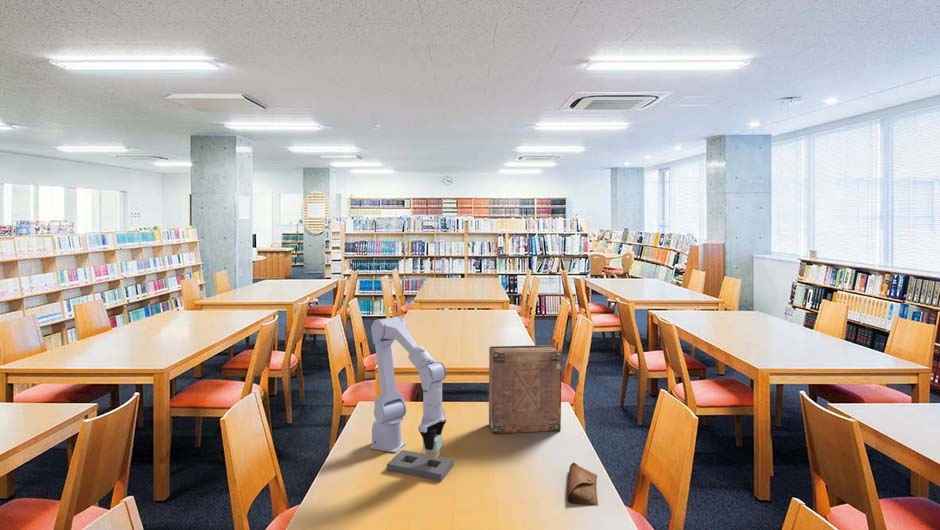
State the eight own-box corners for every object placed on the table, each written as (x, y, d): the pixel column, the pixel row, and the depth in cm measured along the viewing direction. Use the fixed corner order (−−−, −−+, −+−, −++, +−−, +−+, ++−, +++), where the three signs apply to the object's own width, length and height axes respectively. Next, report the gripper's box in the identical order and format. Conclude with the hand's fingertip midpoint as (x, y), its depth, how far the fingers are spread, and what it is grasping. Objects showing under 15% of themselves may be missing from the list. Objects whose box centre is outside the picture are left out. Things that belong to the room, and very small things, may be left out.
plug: (423, 457, 148) (423, 438, 148) (429, 451, 152) (429, 433, 152) (436, 460, 147) (436, 441, 146) (442, 453, 151) (442, 435, 151)
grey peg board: (387, 470, 150) (387, 463, 150) (402, 456, 159) (402, 449, 159) (441, 481, 144) (441, 474, 144) (453, 465, 153) (453, 459, 153)
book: (553, 421, 188) (555, 344, 186) (560, 431, 179) (562, 351, 177) (488, 424, 185) (489, 346, 183) (492, 434, 176) (493, 352, 174)
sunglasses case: (600, 507, 131) (587, 485, 131) (576, 516, 133) (564, 495, 133) (597, 473, 149) (586, 454, 149) (576, 482, 150) (566, 463, 151)
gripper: (435, 413, 140) (435, 458, 141) (453, 396, 154) (453, 438, 155) (412, 409, 142) (413, 454, 144) (433, 393, 156) (433, 434, 157)
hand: (432, 445), depth 149 cm, fingers closed on plug, 4 cm apart
